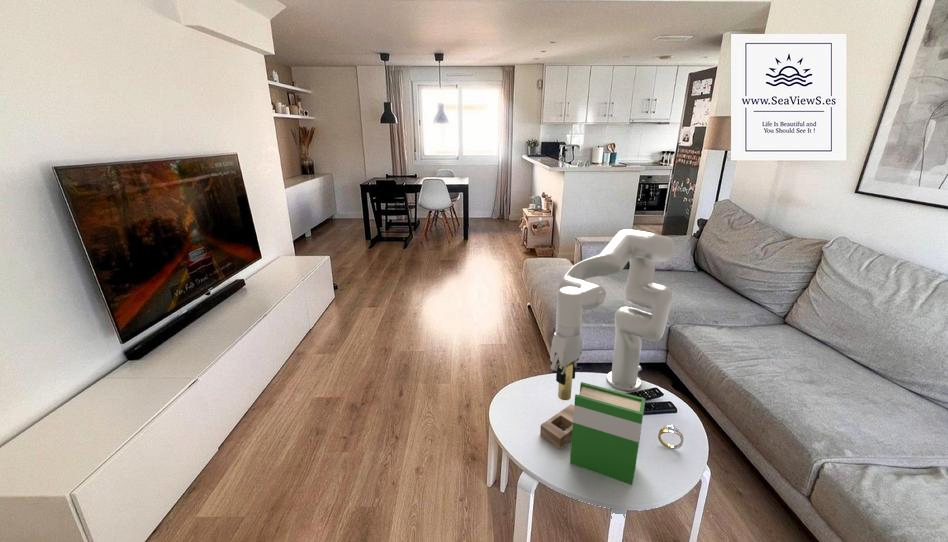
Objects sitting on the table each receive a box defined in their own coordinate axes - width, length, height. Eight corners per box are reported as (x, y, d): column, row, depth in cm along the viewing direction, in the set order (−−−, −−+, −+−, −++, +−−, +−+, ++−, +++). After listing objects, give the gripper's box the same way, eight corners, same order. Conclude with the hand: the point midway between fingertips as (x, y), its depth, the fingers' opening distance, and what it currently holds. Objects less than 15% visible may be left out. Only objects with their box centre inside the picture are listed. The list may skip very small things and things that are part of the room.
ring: (681, 448, 123) (686, 428, 121) (680, 455, 121) (684, 434, 118) (657, 440, 127) (661, 419, 124) (655, 446, 125) (659, 425, 122)
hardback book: (569, 463, 119) (575, 396, 111) (575, 446, 125) (581, 381, 117) (632, 485, 111) (642, 414, 103) (635, 466, 117) (645, 398, 110)
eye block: (570, 413, 140) (571, 404, 139) (589, 425, 134) (590, 415, 133) (540, 434, 130) (540, 425, 129) (559, 448, 124) (560, 438, 123)
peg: (563, 390, 129) (565, 358, 125) (573, 396, 126) (575, 364, 122) (555, 396, 127) (557, 363, 123) (565, 402, 124) (567, 369, 120)
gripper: (575, 315, 126) (572, 365, 132) (540, 332, 116) (538, 385, 122) (595, 323, 121) (591, 374, 127) (560, 341, 111) (557, 396, 117)
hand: (565, 379), depth 124 cm, fingers closed on peg, 4 cm apart
